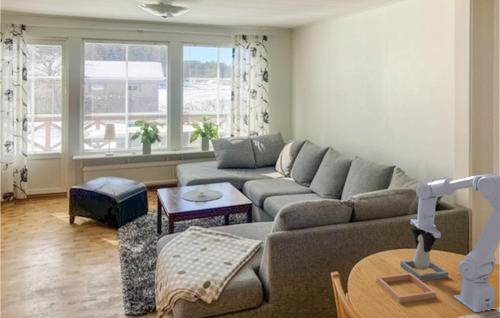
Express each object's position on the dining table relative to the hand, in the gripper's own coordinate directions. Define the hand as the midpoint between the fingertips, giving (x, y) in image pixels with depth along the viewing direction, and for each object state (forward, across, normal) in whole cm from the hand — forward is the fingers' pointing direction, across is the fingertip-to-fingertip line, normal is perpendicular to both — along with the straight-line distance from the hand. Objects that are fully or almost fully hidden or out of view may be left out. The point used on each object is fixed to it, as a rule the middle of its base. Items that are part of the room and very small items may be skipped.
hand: (423, 248), depth 142 cm
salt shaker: (+8, 0, 0) cm, 8 cm away
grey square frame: (+10, +2, -2) cm, 11 cm away
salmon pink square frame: (+10, -8, +13) cm, 18 cm away
